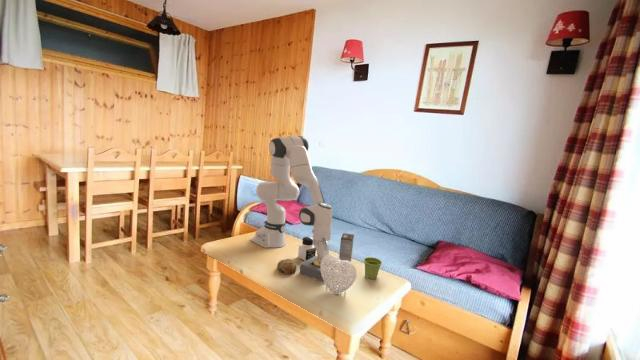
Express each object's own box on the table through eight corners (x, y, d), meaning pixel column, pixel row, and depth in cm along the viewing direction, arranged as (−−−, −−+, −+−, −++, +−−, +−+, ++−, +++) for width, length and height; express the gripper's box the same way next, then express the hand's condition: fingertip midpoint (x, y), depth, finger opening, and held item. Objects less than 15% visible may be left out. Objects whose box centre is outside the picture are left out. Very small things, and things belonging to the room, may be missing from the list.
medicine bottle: (305, 261, 174) (307, 241, 172) (297, 256, 179) (299, 236, 178) (315, 258, 179) (317, 238, 177) (307, 254, 184) (309, 234, 182)
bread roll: (274, 277, 161) (272, 266, 157) (283, 262, 169) (281, 251, 165) (292, 281, 158) (290, 271, 153) (300, 266, 166) (298, 256, 161)
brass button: (310, 267, 161) (311, 260, 160) (317, 263, 166) (317, 257, 165) (320, 270, 158) (321, 264, 157) (326, 266, 163) (327, 260, 162)
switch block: (299, 273, 160) (300, 263, 159) (314, 264, 172) (315, 255, 171) (322, 282, 153) (323, 272, 152) (336, 272, 165) (337, 263, 164)
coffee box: (340, 259, 182) (343, 232, 179) (351, 261, 181) (354, 234, 178) (337, 265, 173) (340, 237, 170) (349, 267, 172) (352, 239, 169)
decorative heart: (312, 290, 144) (316, 255, 142) (326, 282, 153) (329, 249, 150) (345, 306, 134) (350, 268, 131) (358, 296, 142) (362, 261, 140)
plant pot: (383, 277, 163) (385, 262, 162) (373, 282, 157) (375, 266, 155) (369, 270, 170) (370, 255, 168) (358, 275, 163) (360, 259, 162)
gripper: (333, 242, 149) (330, 269, 152) (323, 228, 169) (321, 252, 171) (320, 242, 148) (317, 269, 150) (311, 228, 168) (309, 252, 170)
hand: (319, 260), depth 161 cm, fingers closed, pressing on brass button
